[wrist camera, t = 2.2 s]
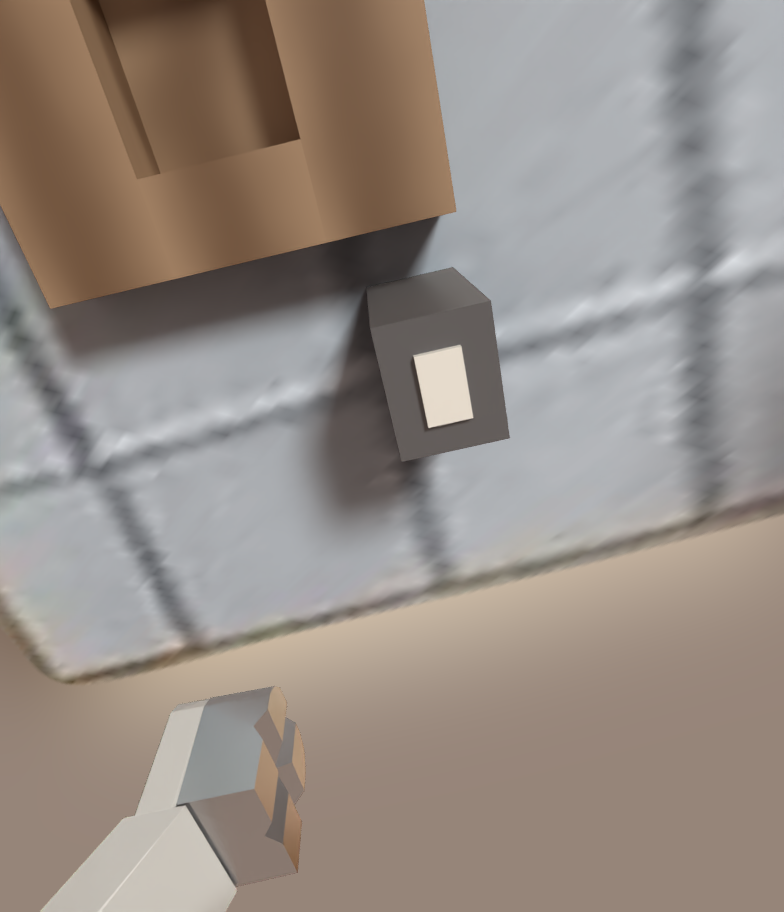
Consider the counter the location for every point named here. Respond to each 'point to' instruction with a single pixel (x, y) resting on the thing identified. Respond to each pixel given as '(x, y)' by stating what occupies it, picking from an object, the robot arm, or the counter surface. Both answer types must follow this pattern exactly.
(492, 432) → the block
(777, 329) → the counter surface
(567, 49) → the counter surface
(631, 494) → the counter surface
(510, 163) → the counter surface
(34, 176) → the dock
